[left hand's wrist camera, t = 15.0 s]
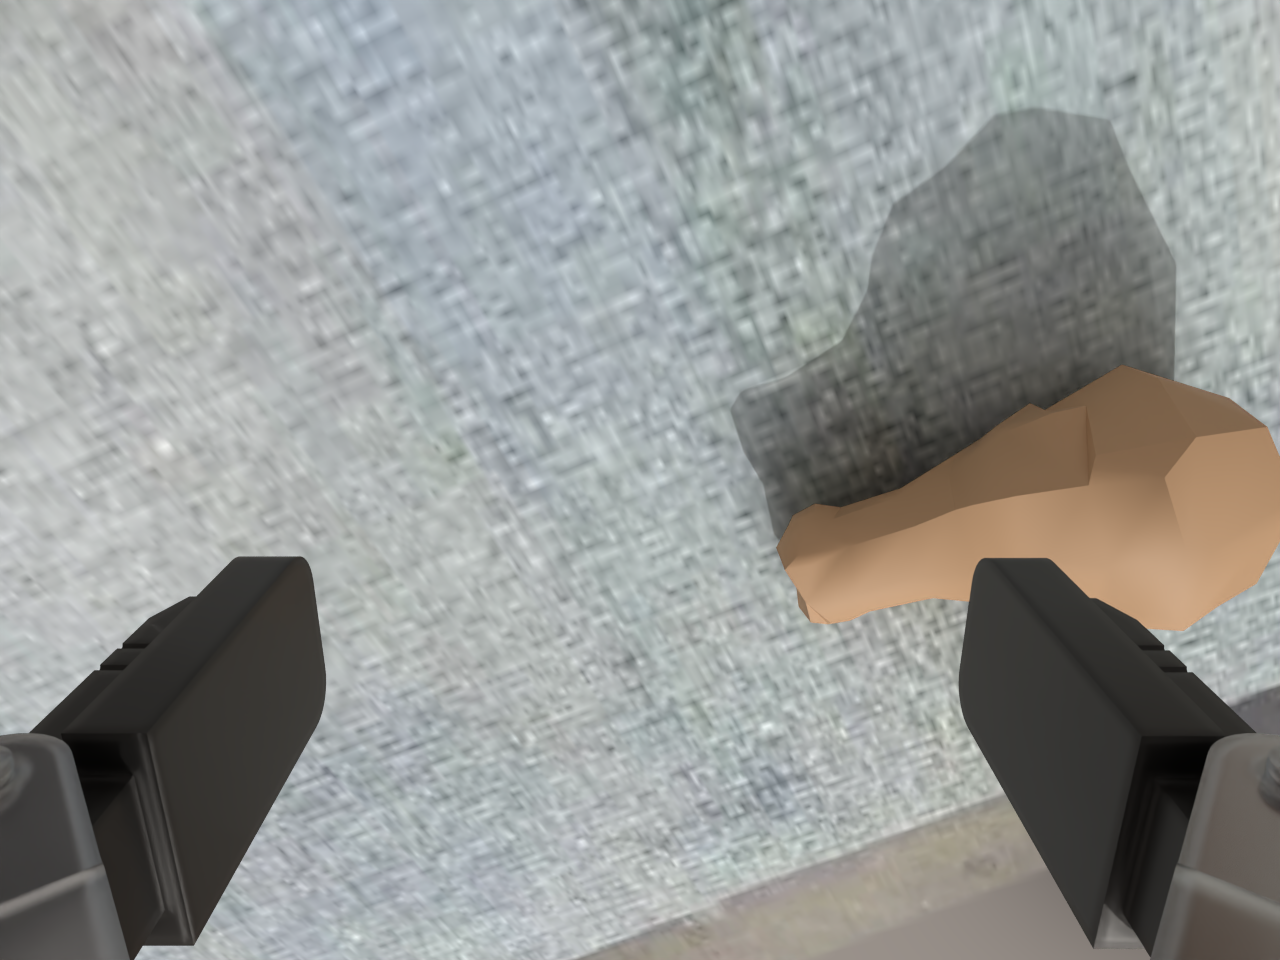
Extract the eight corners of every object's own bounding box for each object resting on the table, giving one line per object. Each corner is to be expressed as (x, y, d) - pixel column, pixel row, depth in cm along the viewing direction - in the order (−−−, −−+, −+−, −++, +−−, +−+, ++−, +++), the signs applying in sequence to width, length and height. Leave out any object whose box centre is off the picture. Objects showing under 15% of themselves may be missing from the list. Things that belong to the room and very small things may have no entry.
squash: (1229, 513, 42) (1343, 645, 35) (811, 612, 47) (831, 747, 40) (1219, 306, 37) (1351, 407, 30) (750, 441, 42) (760, 558, 34)
